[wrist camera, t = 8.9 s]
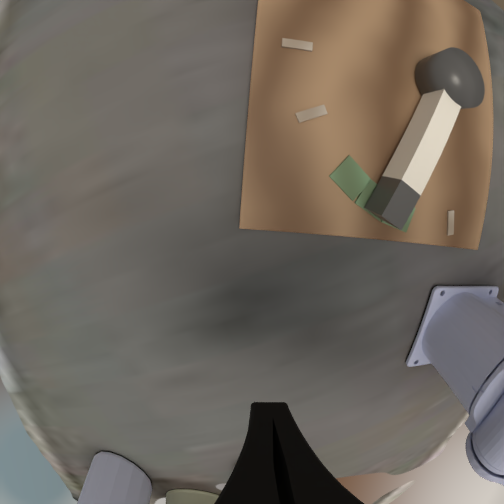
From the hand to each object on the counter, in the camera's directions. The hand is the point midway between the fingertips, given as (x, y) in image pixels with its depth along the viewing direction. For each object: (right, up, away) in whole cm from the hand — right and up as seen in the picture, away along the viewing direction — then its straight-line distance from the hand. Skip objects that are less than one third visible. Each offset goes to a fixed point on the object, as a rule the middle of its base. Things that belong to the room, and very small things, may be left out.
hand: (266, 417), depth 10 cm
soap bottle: (-19, -24, +18) cm, 35 cm away
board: (+9, +18, +5) cm, 21 cm away
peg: (+10, +14, +5) cm, 18 cm away
